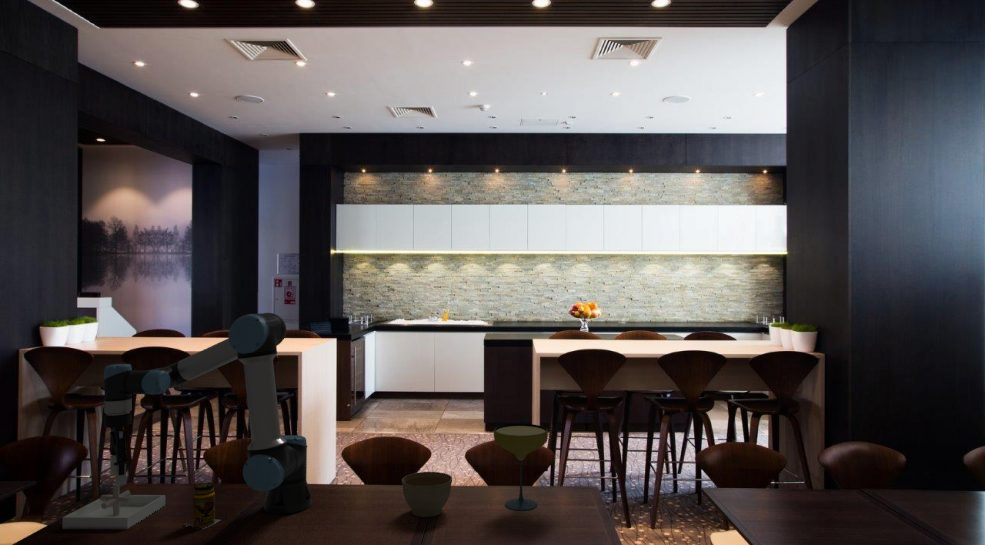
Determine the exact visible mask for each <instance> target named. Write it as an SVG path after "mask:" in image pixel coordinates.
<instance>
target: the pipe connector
mask: <svg viewBox="0 0 985 545" xmlns="http://www.w3.org/2000/svg"><path fill="white" fill-rule="evenodd" d="M111 495H113V496H111ZM129 495H132V494H131V491H130V490H129V489H127V490H125V491H123V492H122V493H120V486H116V482H114V483H112V494H101V495H100V497H99V499H100V500H101V501H106V502H104V503H102V504H101V507H102V508H103V509H106V508H107V507H109V506H111V505H113V516H118V515H120V503H131V502H132V498H131V497H127V496H129Z"/></svg>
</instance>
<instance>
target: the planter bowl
mask: <svg viewBox="0 0 985 545" xmlns="http://www.w3.org/2000/svg"><path fill="white" fill-rule="evenodd" d="M452 481H453V477H452V476H451V474H448V473H445V472H439V471H419V472H414V473H411V474H408V475H407V474H406V475H405V476H404V477H403V478H402V479H401V483H402V492H403V496H404V499H405V501H406V503H407V505H408V506H409V508H410V510H411V513H412V514H413V515H414V516H416V517H420V518H421V517H422V518H430V517H431V518H432V517H435V516H439V515H440V514H441V513H442V512H443V508H444V506H446V504H447V502H448V500H449V498H450V494H451V490H452V483H453V482H452Z"/></svg>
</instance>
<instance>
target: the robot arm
mask: <svg viewBox="0 0 985 545" xmlns="http://www.w3.org/2000/svg"><path fill="white" fill-rule="evenodd" d="M286 335H287V325H286V322H285V321H284V319H283V318H282V317H280V315H278V314H275V313H272V312H264V313H249V314H245V315H241V316H240V317H238V318H237V319H236V320H234V321H233V322H232V324H231V326H230V328H229V331H228V338H226V339H224V340H222V341H220V342H217V343H215V344H213V345H210V346H208V347H207V348H205V349H202V350H200V351H198V352H195V353H194V354H191V355H189V356H187V357H184V358H183V359H181V360H179V361H176V362H174V363H172V364H169V365H167V366H163V367H158V368H153V369H152V368H151V369H148V370H147V369H145V370H133V368H132V364H130V363H116V364H109V365H107V366H106V367H104V372H103V380H102V381H103V392H104V393H103V394H104V395H103V396H104V398H103V404H102V405H101V407H102V408H103V410H104V412H103V413H104V414H105V415H103V426H104V428H106V429H107V428H110V432H109V450H108V451H109V455H110V457H109V464H110V465H109V466H110V468H109V472H110V473H109V474H110V475H109V476H110V477H115V483H116V486H119V487H120V486H125V485H127V463H128V457H127V456H128V455H127V453H128V452H127V440H126V439H127V438H126V437H127V431H126V430H125V429H124V427H125V426H129V425H131V424H133V422H132V420H133V418H132V414H133V412H131V411H132V410H133V406H132V405H133V402H132V401H133V400H132V399H133V398H132V395H151V396H155V395H162V394H165V393H166V392H167V390H169V389H170V390H171V389H173V388H174V389H175V388H179V387H182V386H183V385H186V384H187V383H189V381H192V380H194V379H196V378H199V377H200V376H202V375H205V374H207V373H209V372H211V371H213V370H216V369H218V368H220V367H222V366H225V365H227V364H229V363H231V362H234V361H235V360H238V361H239V362H240V363H242V364H243V370H244V379H245V389H246V390H245V391H246V398H247V407H248V418H249V428H250V438H251V442H250V443H249V444H248V446H247V448H246V451H247V460H246V461H245V462H244V465H243V468H242V476H243V477H242V478H243V479H244V482H245V483H246V484H247V486H248V487H250V488H251V489H252V490H254V491H256V492H261V493H263V492H266V495H265V498H264V501H263V510H264V512H267V513H269V514H275V515H276V514H277V515H284V514H285V515H287V514H293V513H297V512H301V511H304V510H306V509H308V508H310V507H311V506H312V504H313V497H312V494H311V490H310V487H309V485H308V481H307V473H308V472H307V465H308V464H307V463H308V462H307V460H308V458H307V457H308V454H307V453H308V444H307V438H306V437H305V436H303V435H288V434H287V435H282V433H281V432H282V431H281V426H280V425H281V423H280V415H279V414H280V413H279V406H278V397H277V396H278V394H277V387H276V377H275V368H274V367H275V366H274V359H275V357H276V356H277V355H278V349H277V346H278V345H280V344H282V342H283V341H284V340H285V338H286Z"/></svg>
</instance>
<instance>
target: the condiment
mask: <svg viewBox="0 0 985 545" xmlns="http://www.w3.org/2000/svg"><path fill="white" fill-rule="evenodd" d="M214 487H215V485H214V483H213V482H202V483H198V484H195V486H194V494H193V498H192V499H193V501H192V502H193V507H192V508H193V512H192V513H193V515H192V517H193V518H192V521H193V523H194V526H195V527H205V528H202V529H201V530H205V529H207V528H210V527H211V526H213V525H215V524H217V523H218V522H220V521H222V519H216V514H215V513H216V492H215V490H214V489H215V488H214ZM188 526H189V525H188ZM188 526H187V525H186V526H185V527H188ZM207 526H208V527H207Z"/></svg>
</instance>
